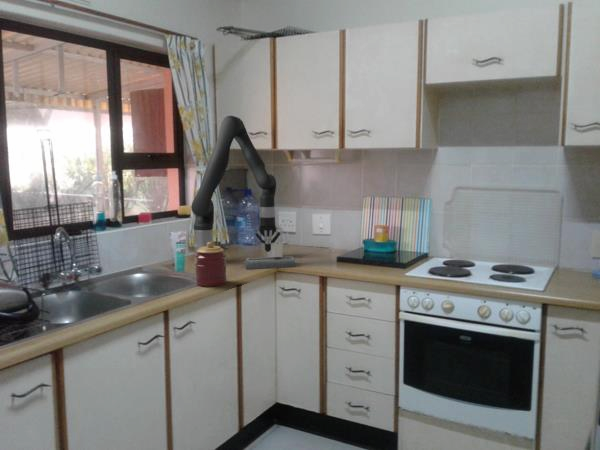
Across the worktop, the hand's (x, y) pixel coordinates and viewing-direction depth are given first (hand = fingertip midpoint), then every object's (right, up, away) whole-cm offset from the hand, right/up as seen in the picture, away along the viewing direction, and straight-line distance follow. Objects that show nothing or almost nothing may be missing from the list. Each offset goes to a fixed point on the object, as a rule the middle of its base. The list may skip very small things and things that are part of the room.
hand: (267, 251), depth 254 cm
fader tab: (+5, -5, +2) cm, 7 cm away
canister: (-22, -12, -35) cm, 43 cm away
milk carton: (+2, -5, +23) cm, 23 cm away
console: (+1, -7, +1) cm, 7 cm away
